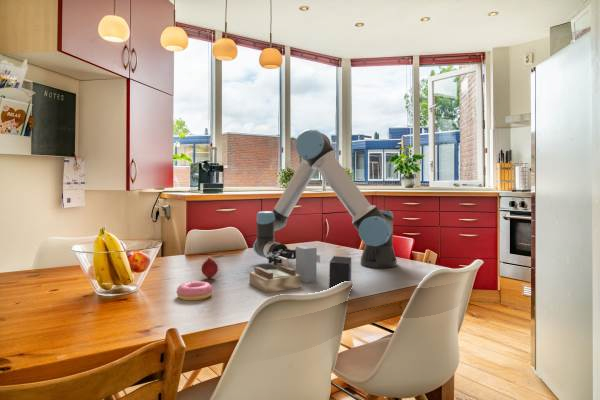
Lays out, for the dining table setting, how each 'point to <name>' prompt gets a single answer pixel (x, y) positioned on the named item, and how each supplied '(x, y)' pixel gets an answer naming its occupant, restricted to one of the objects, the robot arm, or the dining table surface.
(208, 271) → the onion
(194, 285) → the doughnut
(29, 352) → the dining table surface
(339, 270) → the small box
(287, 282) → the stand
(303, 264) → the tall grey prism
